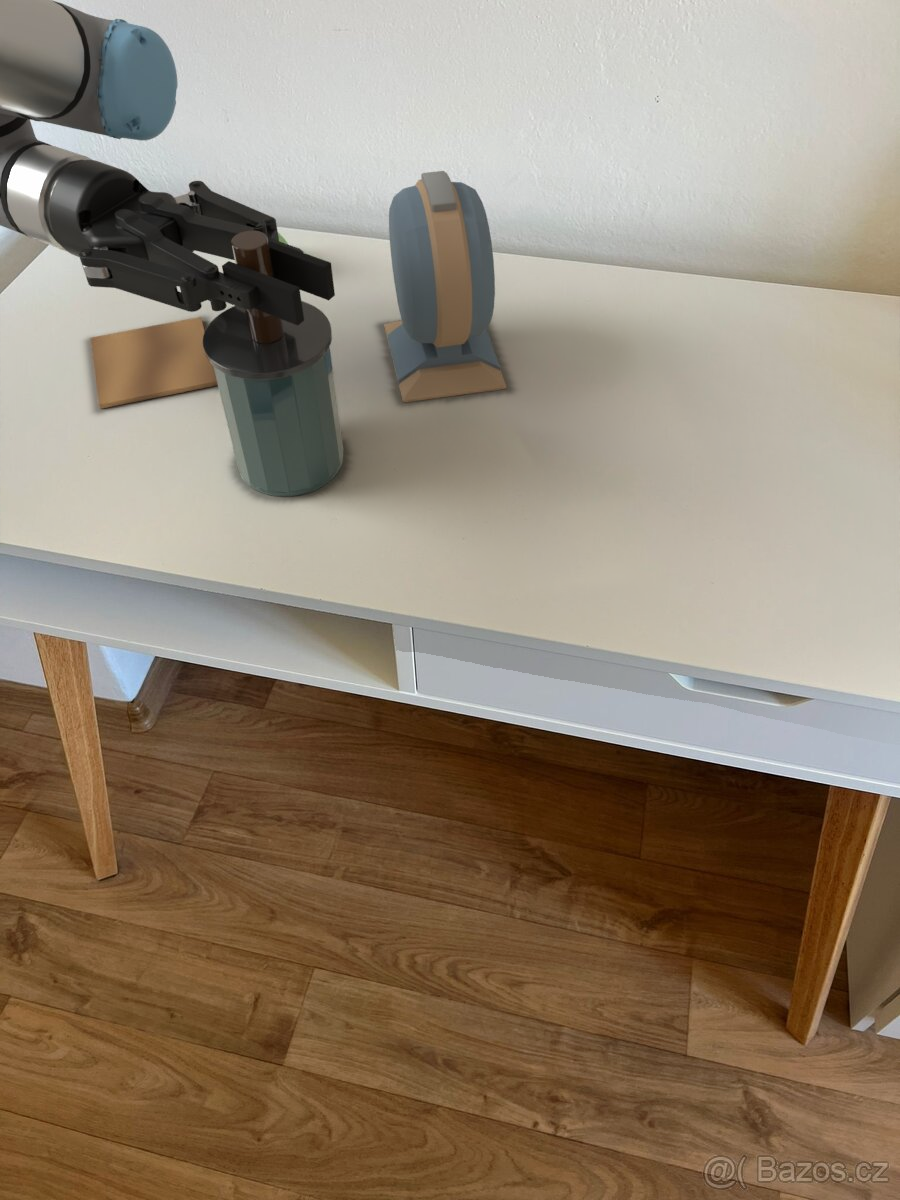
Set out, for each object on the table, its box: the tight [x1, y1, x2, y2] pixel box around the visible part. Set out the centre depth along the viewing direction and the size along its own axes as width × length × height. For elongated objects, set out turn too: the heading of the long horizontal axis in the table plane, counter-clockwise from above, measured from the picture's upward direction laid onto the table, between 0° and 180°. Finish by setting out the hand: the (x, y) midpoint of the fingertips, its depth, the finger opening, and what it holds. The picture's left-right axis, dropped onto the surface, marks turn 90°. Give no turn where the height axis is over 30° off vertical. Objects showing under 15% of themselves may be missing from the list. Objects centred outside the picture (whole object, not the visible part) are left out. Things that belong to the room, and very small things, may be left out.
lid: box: [203, 231, 333, 380], centre depth 76 cm, size 10×10×9 cm
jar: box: [213, 346, 344, 497], centre depth 83 cm, size 9×9×12 cm
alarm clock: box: [383, 170, 507, 403], centre depth 91 cm, size 14×10×18 cm
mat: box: [90, 316, 218, 410], centre depth 97 cm, size 11×11×1 cm
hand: (313, 293), depth 72 cm, fingers open, 3 cm apart
